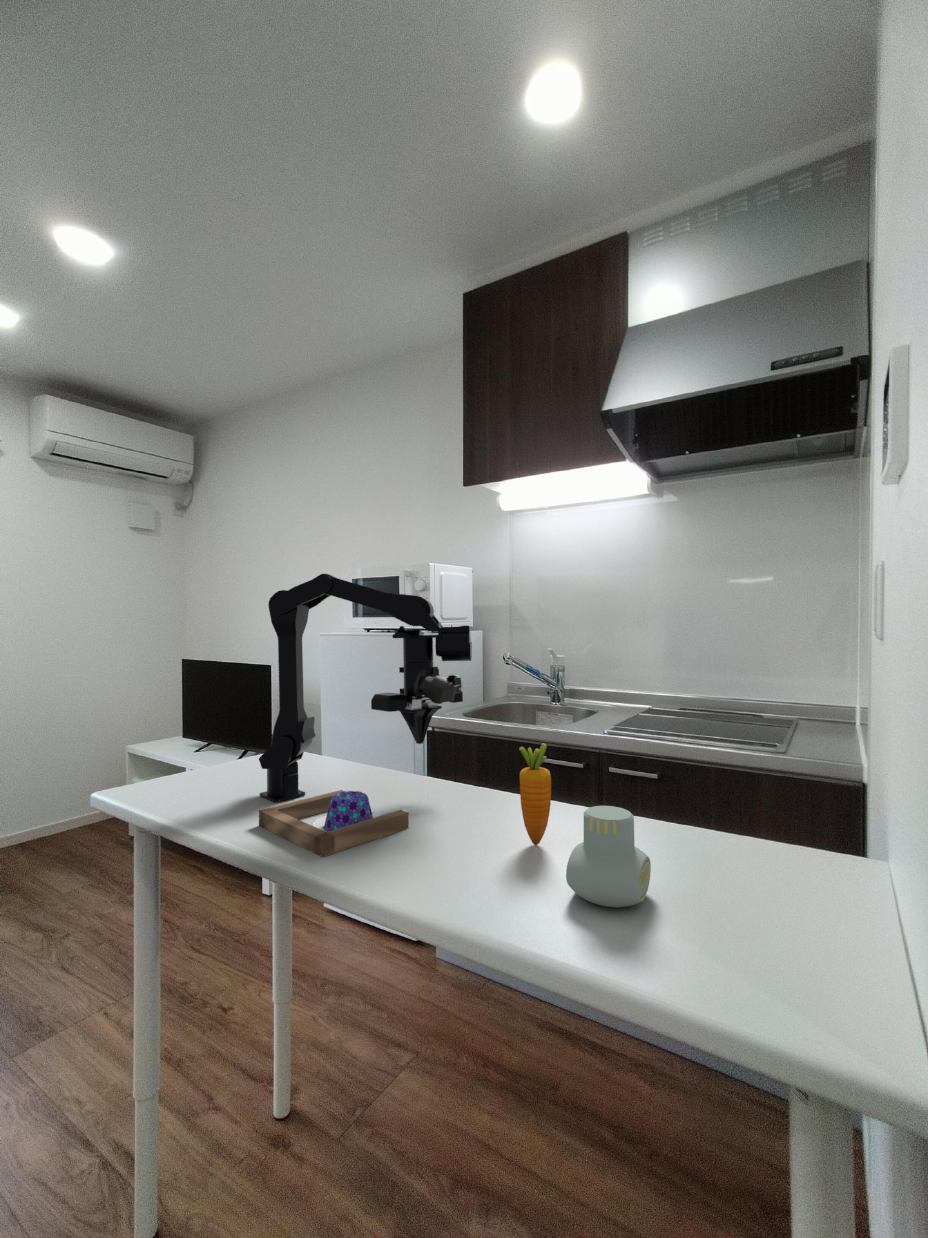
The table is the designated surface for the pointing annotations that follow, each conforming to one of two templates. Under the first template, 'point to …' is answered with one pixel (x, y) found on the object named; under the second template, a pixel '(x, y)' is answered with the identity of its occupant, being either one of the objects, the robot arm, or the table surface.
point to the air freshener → (609, 860)
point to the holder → (319, 841)
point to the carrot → (535, 793)
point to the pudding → (346, 811)
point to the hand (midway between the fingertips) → (419, 743)
